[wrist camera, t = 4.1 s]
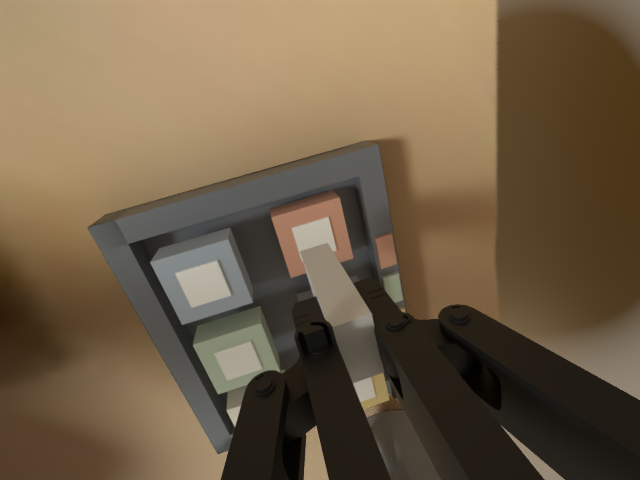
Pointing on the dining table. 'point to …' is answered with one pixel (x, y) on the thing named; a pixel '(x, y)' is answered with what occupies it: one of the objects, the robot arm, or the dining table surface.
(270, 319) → the keypad board
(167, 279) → the key slate
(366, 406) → the key ochre
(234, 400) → the key cream
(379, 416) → the coffee mug
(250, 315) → the key sage
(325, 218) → the key terracotta
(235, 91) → the dining table surface
